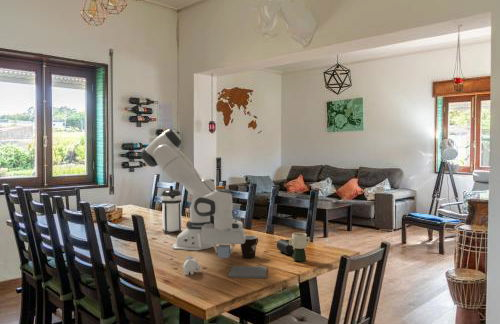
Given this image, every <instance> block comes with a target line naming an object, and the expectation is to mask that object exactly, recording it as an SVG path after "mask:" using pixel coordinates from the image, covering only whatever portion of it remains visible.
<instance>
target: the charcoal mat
mask: <svg viewBox="0 0 500 324" xmlns="http://www.w3.org/2000/svg"><path fill="white" fill-rule="evenodd" d="M267 270H268V266H258V265H257V266H253V265H252V266H251V265H250V266H249V265H247V266H246V265H232V266H231V268H230V271H229V273H228V275H227V278H232V279H233V278H237V279H238V278H239V279H243V278H245V279H266V278H267V272H268V271H267Z"/></svg>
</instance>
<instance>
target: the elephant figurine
mask: <svg viewBox="0 0 500 324" xmlns="http://www.w3.org/2000/svg"><path fill="white" fill-rule="evenodd" d="M180 266H181V267H182V269H183V273H184V275H185V276H188V275H194V274H195V271H196V272H197V273H198V272H200V270H203V268H202V267H203V266H202V265H200V264H199V263H198V261H197V259H195V258H194V256H192V255H191V254H190V255H187V256H186V257H185V259H184V263H183V264H180Z"/></svg>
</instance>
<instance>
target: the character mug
mask: <svg viewBox="0 0 500 324" xmlns="http://www.w3.org/2000/svg"><path fill="white" fill-rule="evenodd" d="M307 236H308V234H307V233H306V232H293V233H292V234H291V238H289V239H288V240H289V245H292V246H293V249H294V254H293V256H292V260H294V261H296V262H304V261H306V260H307V256H306V250H305V249H306V248H307V247H308V246H307V245H308V244H309V245H310V241H311V238H310V236H308V237H307ZM291 242H292V243H291Z"/></svg>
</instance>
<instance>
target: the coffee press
mask: <svg viewBox="0 0 500 324" xmlns="http://www.w3.org/2000/svg"><path fill="white" fill-rule="evenodd" d="M161 207H162V209H161V211H162V215H161V217H162V232H163V234H164V235H167V234H168V233H170V232H178V233H179V234H180V233H181V232H182V231H183V230H182V192H181V190H179V189H174V186H173V185H170V186H169V189H164V190H163V191H162V192H161Z"/></svg>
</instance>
